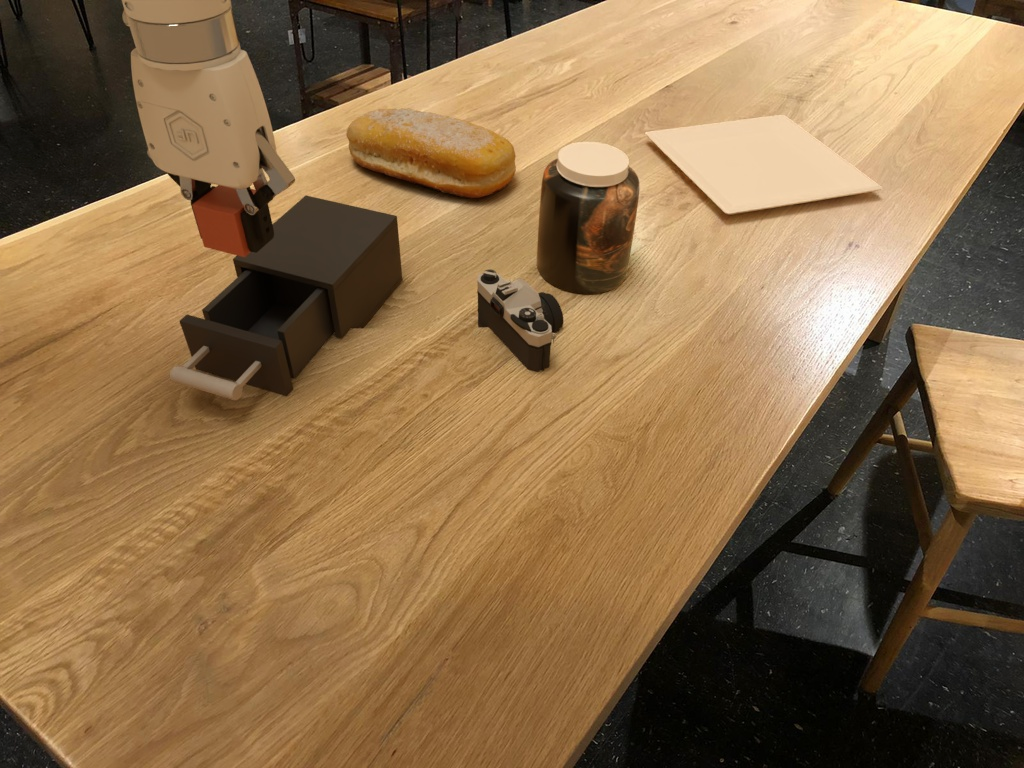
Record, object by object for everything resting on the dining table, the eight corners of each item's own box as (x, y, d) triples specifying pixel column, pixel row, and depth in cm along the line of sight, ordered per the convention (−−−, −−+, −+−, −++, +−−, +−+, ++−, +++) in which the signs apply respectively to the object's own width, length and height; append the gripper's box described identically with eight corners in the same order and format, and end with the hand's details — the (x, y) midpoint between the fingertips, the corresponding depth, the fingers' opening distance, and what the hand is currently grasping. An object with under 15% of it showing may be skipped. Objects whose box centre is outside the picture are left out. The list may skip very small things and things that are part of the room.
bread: (487, 215, 106) (488, 162, 101) (331, 170, 114) (323, 119, 109) (528, 174, 115) (531, 123, 110) (380, 135, 123) (376, 86, 118)
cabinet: (343, 351, 84) (332, 284, 78) (250, 325, 87) (232, 258, 81) (402, 280, 94) (397, 215, 88) (316, 259, 97) (305, 195, 91)
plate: (780, 124, 130) (784, 112, 129) (879, 199, 112) (884, 186, 111) (642, 142, 124) (644, 130, 122) (723, 225, 106) (726, 212, 104)
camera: (589, 365, 84) (595, 295, 78) (532, 391, 80) (533, 320, 75) (522, 311, 92) (522, 244, 87) (467, 332, 89) (463, 264, 83)
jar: (522, 280, 95) (527, 169, 85) (553, 234, 103) (561, 127, 93) (613, 303, 92) (630, 191, 82) (638, 254, 100) (656, 146, 90)
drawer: (260, 436, 74) (244, 381, 69) (166, 407, 76) (144, 351, 71) (354, 325, 86) (346, 271, 81) (270, 303, 89) (258, 249, 84)
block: (245, 257, 69) (234, 214, 66) (204, 247, 70) (191, 204, 67) (272, 233, 72) (263, 191, 69) (232, 223, 73) (222, 181, 70)
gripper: (61, 33, 58) (136, 240, 70) (251, 68, 54) (295, 281, 66) (130, 4, 63) (188, 201, 75) (308, 34, 59) (339, 237, 71)
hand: (238, 236), depth 71 cm, fingers closed on block, 4 cm apart
